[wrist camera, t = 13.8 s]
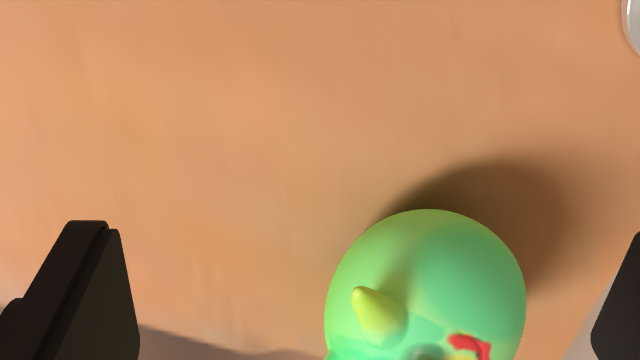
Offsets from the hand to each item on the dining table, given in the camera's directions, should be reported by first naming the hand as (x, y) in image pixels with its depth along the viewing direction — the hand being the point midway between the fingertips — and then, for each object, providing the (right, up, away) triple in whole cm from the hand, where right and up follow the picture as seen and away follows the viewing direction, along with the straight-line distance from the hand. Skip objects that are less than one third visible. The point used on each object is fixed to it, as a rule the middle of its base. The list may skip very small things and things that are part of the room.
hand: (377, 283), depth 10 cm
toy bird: (+6, -5, +40) cm, 40 cm away
